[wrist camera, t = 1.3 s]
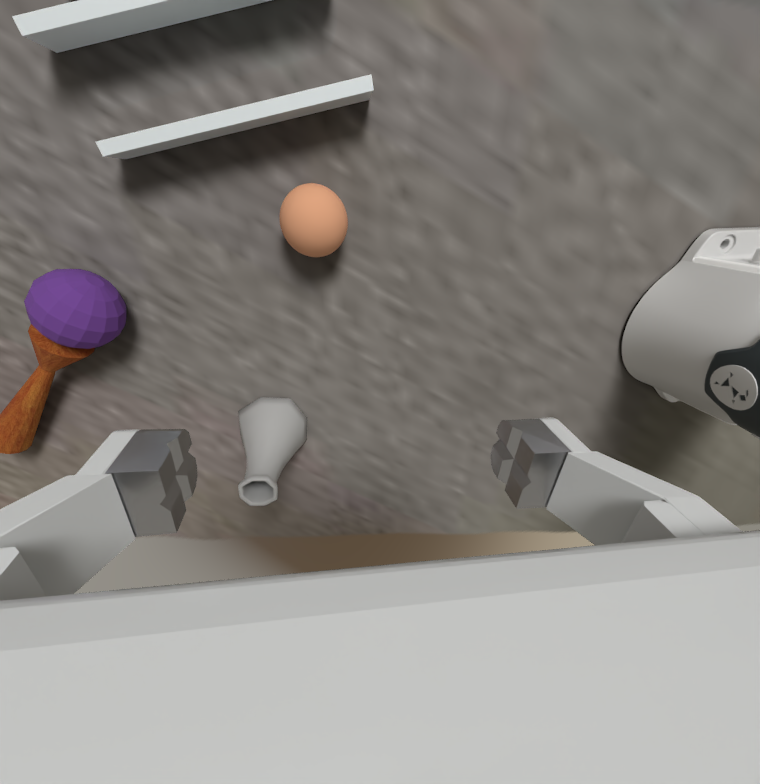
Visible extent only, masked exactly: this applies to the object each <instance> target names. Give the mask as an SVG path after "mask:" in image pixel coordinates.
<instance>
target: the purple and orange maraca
mask: <svg viewBox="0 0 760 784" xmlns="http://www.w3.org/2000/svg"><path fill="white" fill-rule="evenodd" d="M24 302H25V306H26V310H27V314H28V317H29V319H30V322H31V325H30V327H29V330H28V332H29V335H30V338H31V341H32V344H33V347H34V350H35V353H36V357H37V360H38V363H39V366H38V368H37V369H36V370H35V371H34V373H33V374H32V375H31V376H30V378H29V379H28V380H27V381H26V383H25V384H24V385H23V386H22V388H21V389H20V390H19V391H18V393H17V394H16V395H15V397H14V398H13V399H12V400H11V402H10V403H9V404H8V405H7V407H6V408H5V409H4V410H3V412H2V413H1V414H0V453H5V454H13V453H20V452H22V451H25V450H27V449H28V448H29V447H30V446H31V445H32V442H33V439H34V436H35V433H36V430H37V427H38V424H39V421H40V418H41V415H42V412H43V409H44V405H45V402H46V399H47V396H48V393H49V390H50V387H51V384H52V381H53V378H54V375H55V372H56V370H59V369H61V368H63V367H65V366H68V365H70V364H72V363H74V362H76V361H79V360H81V359H83V358H85V357H87V356H89V355H90V354H92V353H93V352H94V349H95V347H100V346H102V345H104V344H106V343H108V342H110V341H112V340H113V339H114V338H116V337H117V336H118V335H119V334H120V333H121V331H122V329H123V328H124V326H125V323H126V304H125V302H124V300H123V298H122V297H121V295H120V294H119V292H118V291H117V289H116V288H115V287H114V286H113V285H112V284H111V283H110V282H109V281H107V280H106V279H104V278H103V277H101V276H99V275H97V274H94V273H92V272H89V271H85V270H81V269H56V270H53V271H51V272H48V273H46V274H44V275H43V276H41V277H39V278H37V279H36V280H34V281H33V284H32V286H31V288H30V290H29V292H28V294H27V297H26V299H25V301H24Z"/></svg>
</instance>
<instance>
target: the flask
mask: <svg viewBox="0 0 760 784" xmlns="http://www.w3.org/2000/svg"><path fill="white" fill-rule="evenodd" d="M238 413H239V424H240V434H241V439H242V443H243V446H244V450H245V454H246V459H247V471H246V474H245V478H244V480H243V481H241V482H240V483H239V485H238V489H239V498H241V499H242V500H243V501H244V502H245V503H247V504H248V505H249V506H266V505H268V504H270V503H271V502H273V501H275V500H277V499H278V488H277V480H278V478H279V476H280V474H281V472H282V469H283V468H284V467H285V465H286V464H287V463H288V461H289V460H290V459H291V458H292V456H293V455H294V454H295V453H296V451H297V450H298V449H299V448H300V447H301V446H302V445H303V443H304V442H305V441H306V440H307V417H306V416H305V415H304V414H303V412H302V411H301V410H300V409H299V408H298V407H297V406H296V404H295V403H294V402H293V401H292V400H291V399H290V398H266V397H261V398H259V399H257V400H256V401H254V402H252V403H251V404H249V405H247V406H246V407H244V408H243V409H241V410H239V411H238Z"/></svg>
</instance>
